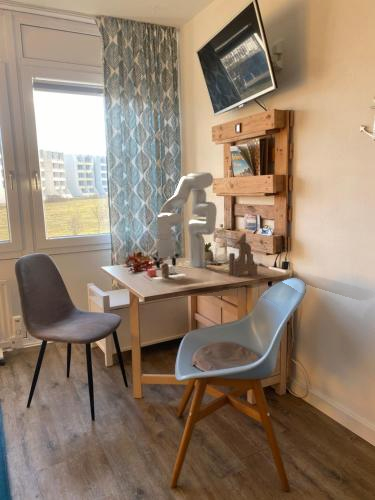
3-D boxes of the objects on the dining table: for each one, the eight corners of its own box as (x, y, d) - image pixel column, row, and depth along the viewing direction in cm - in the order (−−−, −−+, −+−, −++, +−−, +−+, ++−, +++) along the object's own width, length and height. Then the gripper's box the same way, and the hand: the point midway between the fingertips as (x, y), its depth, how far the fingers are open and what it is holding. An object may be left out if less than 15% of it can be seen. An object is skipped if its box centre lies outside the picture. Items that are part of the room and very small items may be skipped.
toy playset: (117, 266, 254) (116, 246, 252) (154, 262, 264) (153, 243, 262) (131, 277, 222) (130, 254, 220) (172, 273, 233) (172, 250, 230)
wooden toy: (253, 272, 228) (253, 231, 224) (257, 275, 221) (257, 232, 217) (228, 274, 225) (228, 232, 221) (231, 277, 218) (232, 234, 214)
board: (178, 273, 230) (177, 264, 229) (188, 277, 218) (188, 268, 217) (142, 277, 220) (142, 268, 219) (151, 283, 207) (151, 273, 206)
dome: (172, 271, 226) (172, 263, 226) (176, 273, 222) (175, 265, 221) (164, 272, 224) (164, 264, 223) (168, 274, 219) (167, 266, 219)
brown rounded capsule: (167, 275, 217) (166, 262, 216) (170, 277, 214) (169, 263, 212) (160, 276, 215) (160, 263, 214) (163, 278, 212) (163, 264, 210)
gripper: (175, 234, 218) (177, 263, 222) (147, 237, 210) (149, 267, 214) (181, 236, 212) (182, 265, 215) (152, 239, 204) (154, 270, 207)
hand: (166, 266), depth 214 cm, fingers open, 9 cm apart
